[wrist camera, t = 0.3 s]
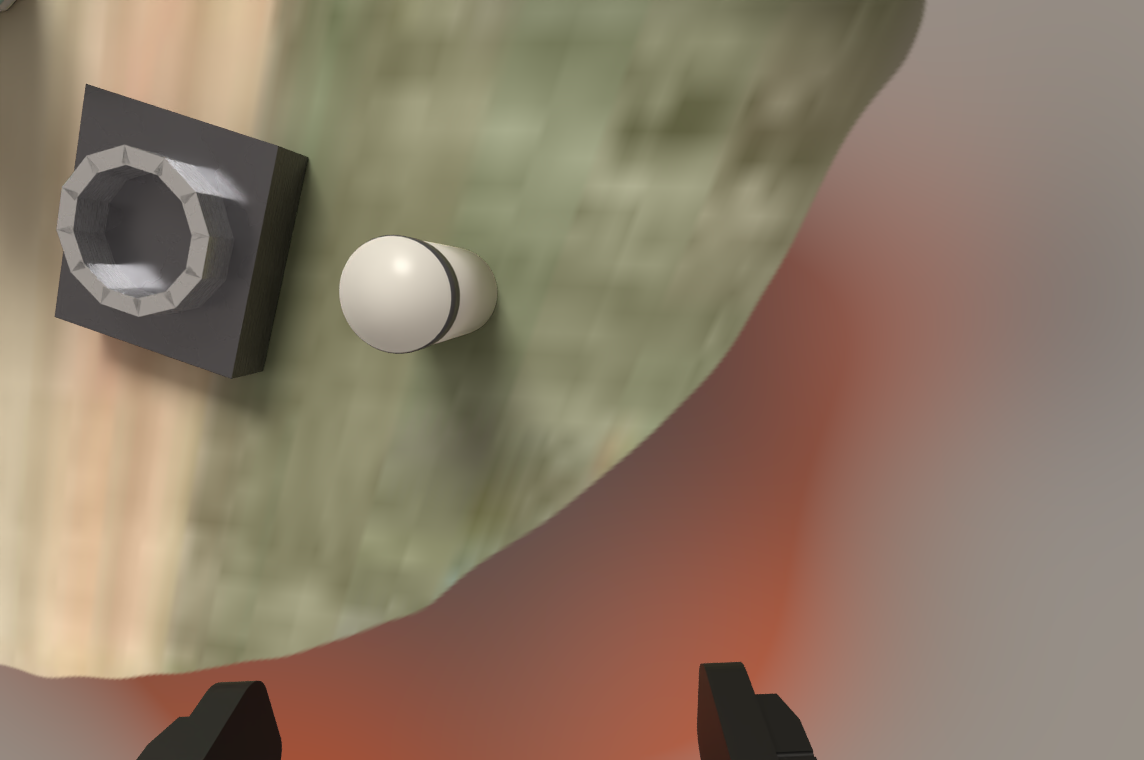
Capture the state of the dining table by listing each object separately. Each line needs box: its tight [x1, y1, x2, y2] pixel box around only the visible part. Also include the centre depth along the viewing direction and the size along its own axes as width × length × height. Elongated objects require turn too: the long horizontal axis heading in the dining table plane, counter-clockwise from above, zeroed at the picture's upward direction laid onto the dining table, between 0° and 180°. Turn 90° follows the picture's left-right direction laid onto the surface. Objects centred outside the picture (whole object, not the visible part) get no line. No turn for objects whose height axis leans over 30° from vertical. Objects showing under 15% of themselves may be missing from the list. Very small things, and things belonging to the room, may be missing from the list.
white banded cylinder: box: [339, 235, 497, 354], centre depth 31 cm, size 6×6×9 cm
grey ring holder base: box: [55, 84, 308, 379], centre depth 34 cm, size 14×12×5 cm
